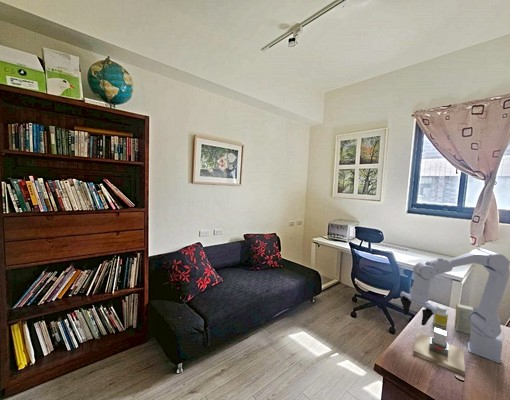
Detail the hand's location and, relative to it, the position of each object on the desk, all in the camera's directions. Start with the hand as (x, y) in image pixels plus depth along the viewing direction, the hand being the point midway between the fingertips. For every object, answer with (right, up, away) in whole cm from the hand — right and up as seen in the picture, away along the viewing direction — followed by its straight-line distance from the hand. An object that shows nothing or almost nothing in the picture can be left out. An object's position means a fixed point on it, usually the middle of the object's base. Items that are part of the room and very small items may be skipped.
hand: (414, 319), depth 103 cm
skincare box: (+31, -11, +11) cm, 35 cm away
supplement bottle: (+23, -11, +14) cm, 29 cm away
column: (+6, -10, -6) cm, 13 cm away
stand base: (+6, -11, -6) cm, 14 cm away
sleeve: (+6, -10, -6) cm, 13 cm away
